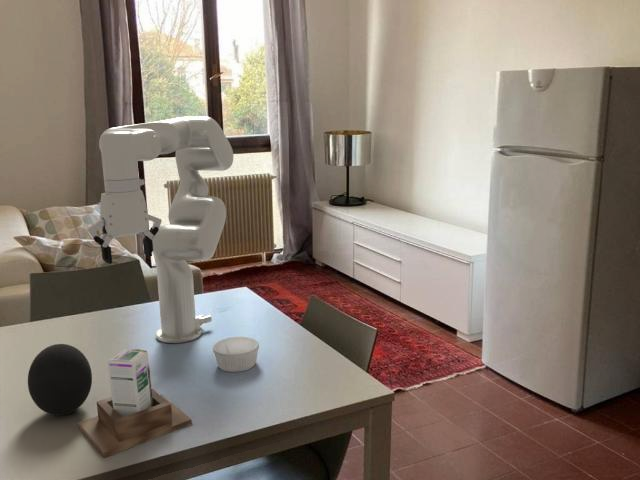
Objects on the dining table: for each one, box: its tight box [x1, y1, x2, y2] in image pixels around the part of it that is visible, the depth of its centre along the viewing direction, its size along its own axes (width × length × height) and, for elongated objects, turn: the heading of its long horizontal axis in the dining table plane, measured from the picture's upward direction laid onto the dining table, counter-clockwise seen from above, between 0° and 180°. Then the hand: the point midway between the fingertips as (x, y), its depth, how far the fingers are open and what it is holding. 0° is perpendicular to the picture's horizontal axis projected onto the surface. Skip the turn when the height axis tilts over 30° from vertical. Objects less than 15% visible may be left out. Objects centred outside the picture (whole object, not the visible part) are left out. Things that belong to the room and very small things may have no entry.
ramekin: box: [212, 336, 260, 373], centre depth 148 cm, size 11×11×5 cm
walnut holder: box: [78, 387, 193, 458], centre depth 121 cm, size 18×14×5 cm
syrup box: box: [107, 348, 153, 417], centre depth 119 cm, size 6×6×14 cm
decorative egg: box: [27, 343, 93, 416], centre depth 125 cm, size 12×12×15 cm
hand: (128, 258), depth 139 cm, fingers open, 9 cm apart
